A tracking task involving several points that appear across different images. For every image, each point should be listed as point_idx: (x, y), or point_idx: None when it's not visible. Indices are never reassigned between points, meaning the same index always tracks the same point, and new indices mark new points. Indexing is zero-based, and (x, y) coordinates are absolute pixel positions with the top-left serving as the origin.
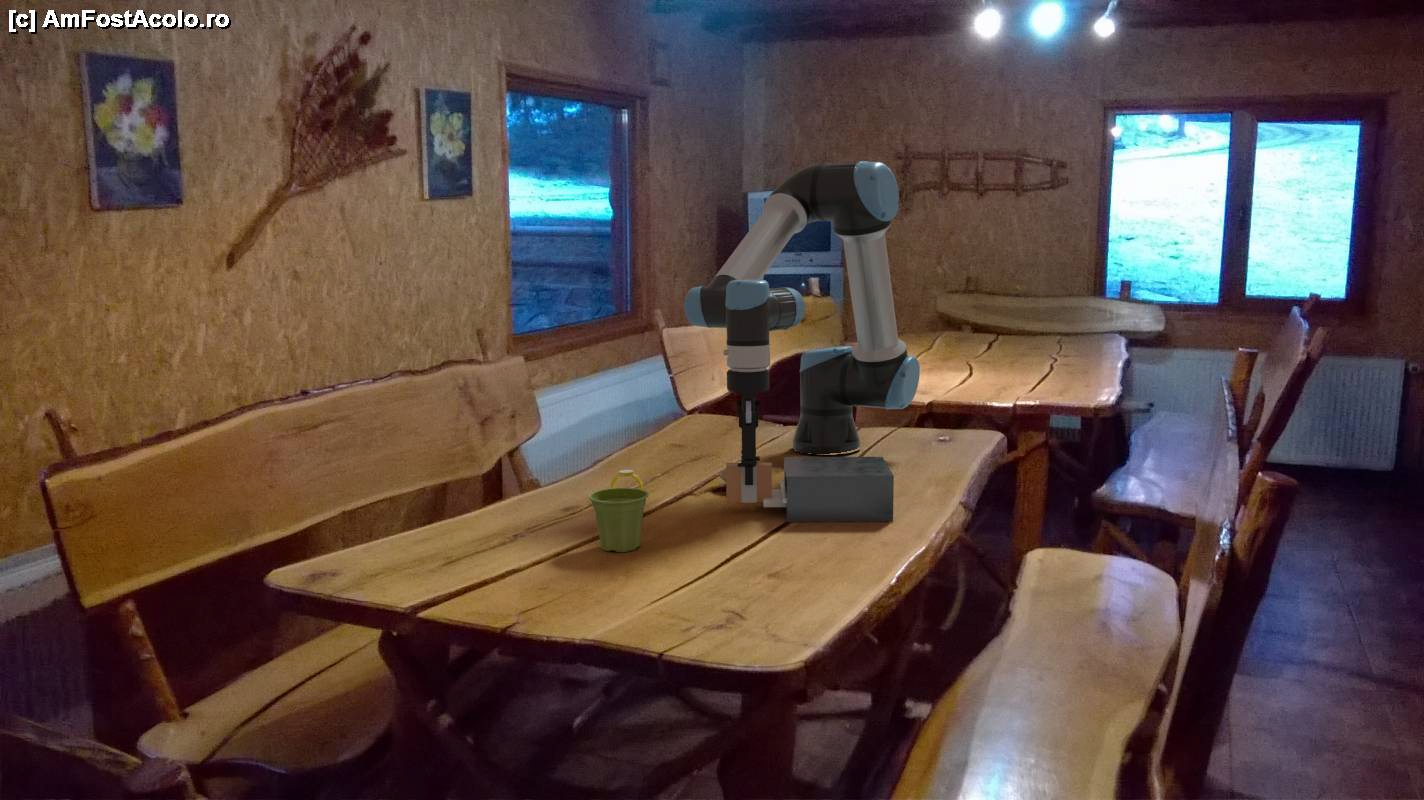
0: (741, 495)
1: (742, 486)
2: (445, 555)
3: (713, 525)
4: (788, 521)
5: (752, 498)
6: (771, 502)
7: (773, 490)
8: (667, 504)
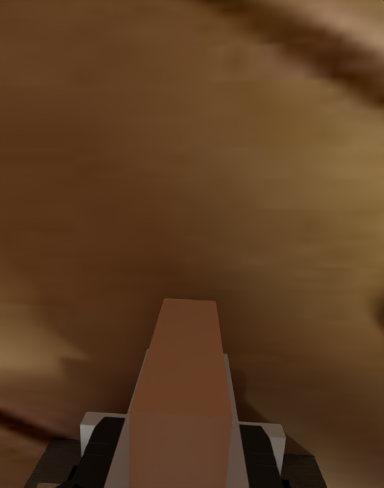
0: (142, 366)
1: (133, 397)
2: None
3: (5, 235)
4: (51, 443)
5: None
6: (82, 447)
7: None
8: (317, 58)
